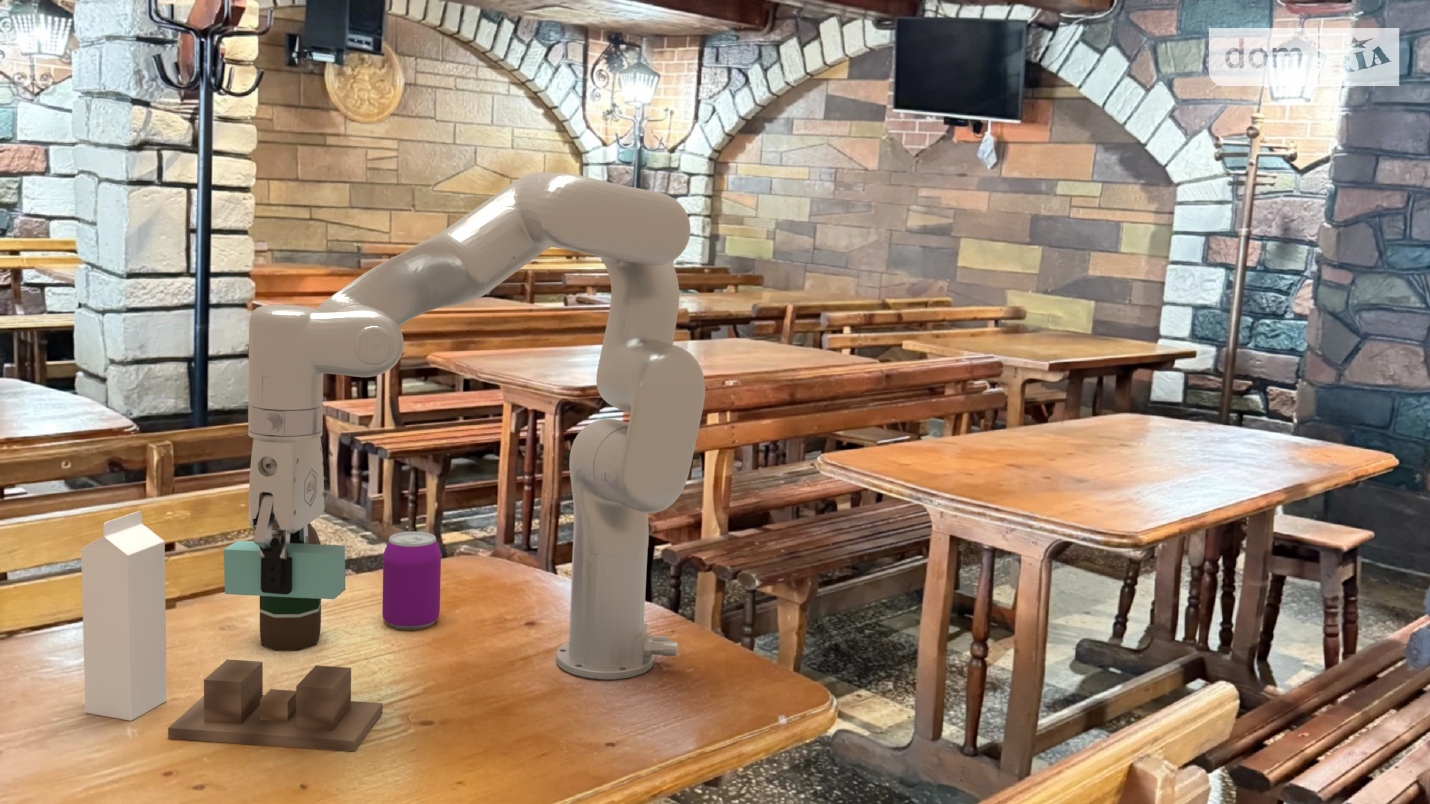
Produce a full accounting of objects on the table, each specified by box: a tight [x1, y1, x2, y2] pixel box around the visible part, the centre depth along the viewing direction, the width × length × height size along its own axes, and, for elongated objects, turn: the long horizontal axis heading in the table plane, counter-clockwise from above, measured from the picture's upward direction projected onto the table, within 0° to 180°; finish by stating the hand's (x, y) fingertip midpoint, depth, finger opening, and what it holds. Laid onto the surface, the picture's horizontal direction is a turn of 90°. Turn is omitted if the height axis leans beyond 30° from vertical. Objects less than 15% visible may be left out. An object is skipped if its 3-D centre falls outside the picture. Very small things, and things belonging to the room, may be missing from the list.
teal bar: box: [223, 540, 346, 600], centre depth 137 cm, size 12×4×5 cm, turn 87°
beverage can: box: [381, 531, 442, 631], centre depth 172 cm, size 8×8×12 cm
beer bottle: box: [259, 523, 322, 652], centre depth 161 cm, size 8×8×24 cm
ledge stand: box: [167, 659, 384, 753], centre depth 138 cm, size 20×10×6 cm, turn 88°
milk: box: [80, 510, 168, 722], centre depth 139 cm, size 6×6×22 cm
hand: (284, 585), depth 137 cm, fingers closed on teal bar, 3 cm apart
